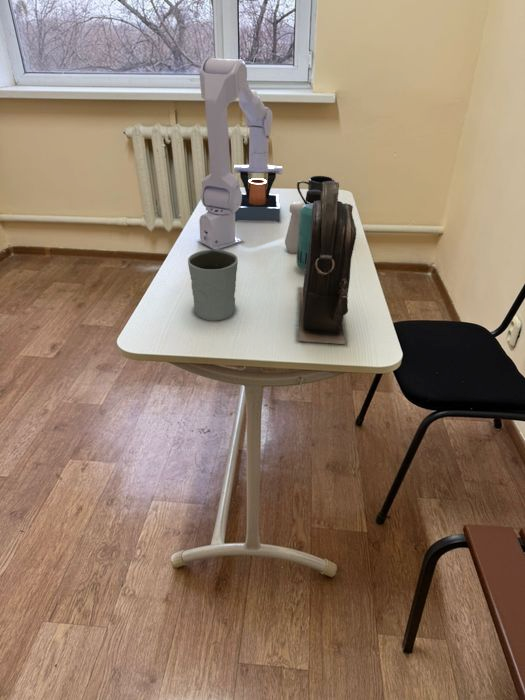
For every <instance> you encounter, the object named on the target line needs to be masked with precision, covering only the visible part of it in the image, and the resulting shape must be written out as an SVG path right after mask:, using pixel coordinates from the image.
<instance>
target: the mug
mask: <svg viewBox="0 0 525 700" xmlns="http://www.w3.org/2000/svg"><path fill="white" fill-rule="evenodd" d="M326 181H335V179H334V178H333V177H330V176H327V175H314V176H310V177H309V178H308V181H304V180H299V181H297V182H296V189H297V192H298V194H299V195H300V198H301V200H302V201H303V203H304V204H305V205H306V204H309V202H307V201H306V198H305V197H304V196H303V194H302V191H301V189H300V184H306V185H307V187H308V188H307V191H309V190H320V191H322V182H326Z"/></svg>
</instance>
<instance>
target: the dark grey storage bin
mask: <svg viewBox="0 0 525 700" xmlns="http://www.w3.org/2000/svg"><path fill="white" fill-rule="evenodd" d="M241 193H242V202H241V205H240V208H239V209H238V210H237V211H236V212H235V221H250V222H253V221H254V222H280V215H281V214H280V212H281V211H280V210H281V208H280V196H279V194H278V193H277V194H275V193H269V198H266V203H265V204H263V205H253V204H250V203H249V198H247V197H246V193H244V192H241Z"/></svg>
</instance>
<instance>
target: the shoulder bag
mask: <svg viewBox="0 0 525 700" xmlns="http://www.w3.org/2000/svg"><path fill="white" fill-rule="evenodd" d="M339 183H340V182H338V181H335V180H334V181H326V182H322V193H321V201H314V203H313V208H312V220H311V230H310V240H309V248H308V255H307V261H306V268H305V270H304V275H303V276H304V277H303V284H302V287H301V288H299V306H298V311H299V312H298V313H299V314H298V341H299V342H307V343H308V342H309V343H321V344H322V343H323V344H339V345H345V344H346V341H345V332H344V325H343V323H344V322H343V321H344V316H346V315H347V313H348V311H349V309H348V307H349V306H348V301H349V299H348V297H349V295H348V294H349V289H350V280H351V267H352V258H353V253H354V248H355V243H356V239H357V227H356V223H355V220H354V216H353V210H354V209H353V208H354V207H353V205H352V204H351V203H343V202H342V201H341V200H339V188H340V184H339Z"/></svg>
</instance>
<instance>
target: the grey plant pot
mask: <svg viewBox="0 0 525 700" xmlns="http://www.w3.org/2000/svg"><path fill="white" fill-rule="evenodd" d="M238 262H239V260H238V257H237V256H236V254H235V253H233V252H230V251H227V250H223V249H217V250H214V249H204V250H200V251H197V252H195V253H193V254H191V255H190V256H189V257H188V259H187V265H188V271H189V275H190V280H191V290H192V296H193V297H192V298H193V305H194V312H195V314H196V316H198V317H199V318H201V319H202V320H206V321H211V322H212V321H222V320H226V319H228V318H230V317H231V316H232V315H233V314H234V313H235V308H236V296H235V295H236V286H237V285H236V282H237V272H238V264H239V263H238Z"/></svg>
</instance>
